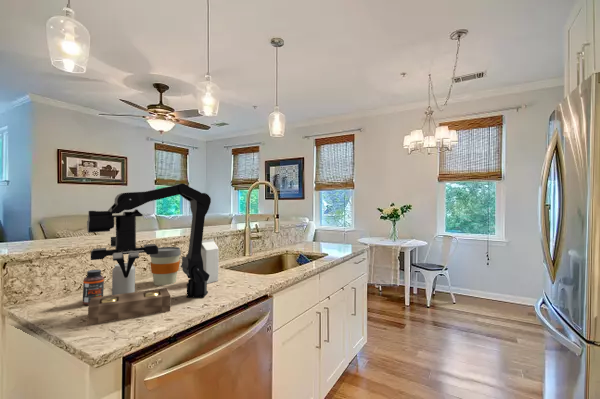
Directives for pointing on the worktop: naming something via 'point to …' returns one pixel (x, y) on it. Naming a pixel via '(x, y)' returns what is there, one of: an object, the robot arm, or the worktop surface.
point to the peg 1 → (109, 299)
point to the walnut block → (128, 306)
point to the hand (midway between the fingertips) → (126, 277)
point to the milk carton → (210, 259)
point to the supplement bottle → (92, 286)
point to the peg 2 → (151, 294)
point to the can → (122, 280)
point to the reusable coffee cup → (165, 265)
